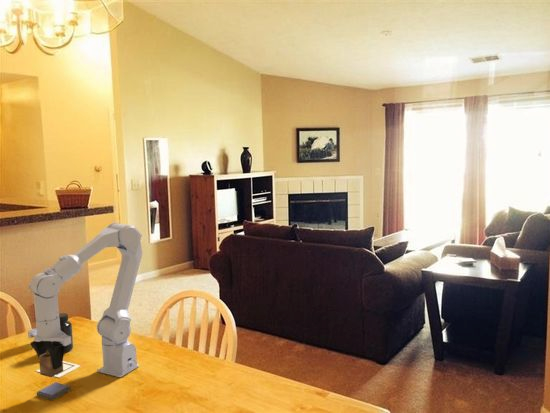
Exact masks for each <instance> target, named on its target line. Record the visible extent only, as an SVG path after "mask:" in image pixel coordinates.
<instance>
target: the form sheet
mask: <svg viewBox="0 0 550 413" xmlns="http://www.w3.org/2000/svg"><path fill="white" fill-rule="evenodd" d="M80 367H82V365H80V364H77V363H73V362H69V361H64V360H63V371H62V372H60V373H58V374H56V375H54V376H53V377H54V378H58V379H60V378H61V377H64V376H66V375H68V374H70V373H71V372H73V371H75V370H77V369H78V368H80ZM35 372H37V373H40V368H39V369H37V370H35Z"/></svg>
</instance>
